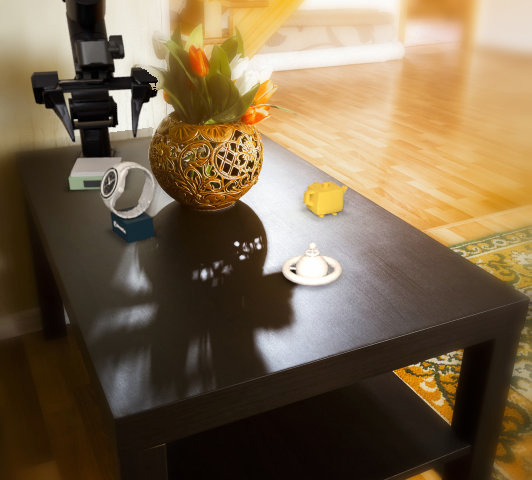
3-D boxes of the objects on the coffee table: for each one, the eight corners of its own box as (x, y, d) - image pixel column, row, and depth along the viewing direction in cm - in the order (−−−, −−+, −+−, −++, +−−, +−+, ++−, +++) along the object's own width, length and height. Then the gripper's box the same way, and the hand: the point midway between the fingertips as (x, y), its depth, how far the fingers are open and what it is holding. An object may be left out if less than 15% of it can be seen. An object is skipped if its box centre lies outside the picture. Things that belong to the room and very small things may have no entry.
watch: (100, 233, 97) (91, 164, 91) (148, 221, 101) (142, 154, 95) (116, 246, 93) (107, 175, 87) (164, 233, 97) (159, 164, 91)
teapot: (334, 201, 110) (336, 172, 107) (352, 213, 105) (355, 183, 102) (294, 208, 107) (295, 178, 104) (310, 220, 102) (312, 190, 99)
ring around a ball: (320, 301, 80) (352, 278, 85) (321, 261, 77) (354, 239, 83) (270, 284, 84) (303, 263, 90) (269, 245, 81) (304, 226, 87)
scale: (77, 172, 120) (75, 157, 118) (125, 171, 121) (124, 156, 119) (70, 190, 112) (67, 174, 110) (121, 189, 113) (119, 173, 111)
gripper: (19, 14, 87) (36, 123, 86) (153, 11, 92) (171, 114, 91) (28, 53, 98) (43, 150, 97) (148, 48, 103) (163, 141, 102)
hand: (105, 138), depth 97 cm, fingers open, 9 cm apart
